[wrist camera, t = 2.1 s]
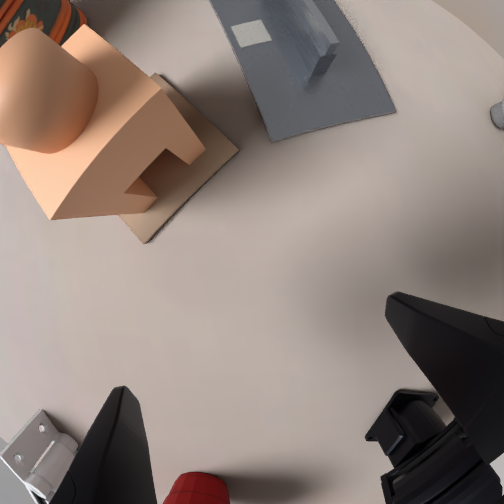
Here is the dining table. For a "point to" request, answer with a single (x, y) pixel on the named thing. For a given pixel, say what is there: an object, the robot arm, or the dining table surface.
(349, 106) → the grey finned plate
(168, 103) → the arched stamp block
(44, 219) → the dining table surface
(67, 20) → the beer stein
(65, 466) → the white box
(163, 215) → the thin square tan tile
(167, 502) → the plastic cup
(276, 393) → the dining table surface
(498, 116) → the lightbulb
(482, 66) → the dining table surface
